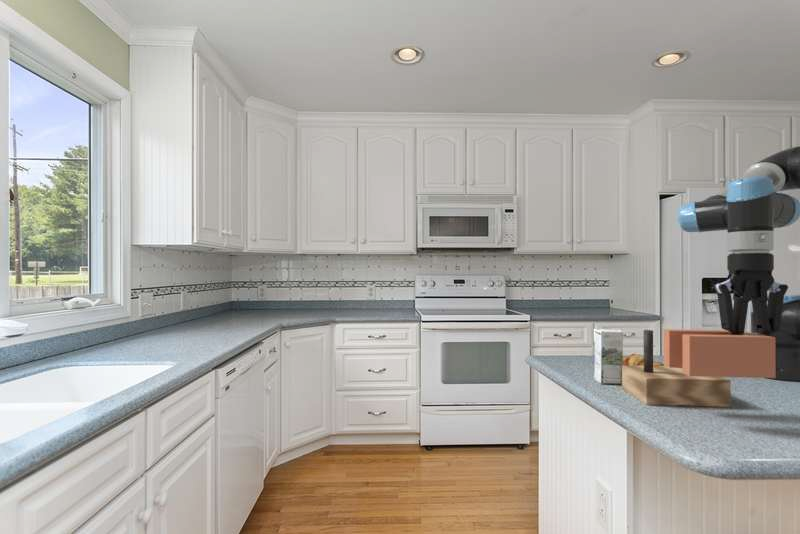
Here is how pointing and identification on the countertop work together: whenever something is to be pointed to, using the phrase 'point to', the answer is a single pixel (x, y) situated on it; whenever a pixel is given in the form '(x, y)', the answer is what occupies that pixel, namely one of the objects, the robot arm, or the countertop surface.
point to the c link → (719, 353)
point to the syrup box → (608, 355)
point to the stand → (672, 383)
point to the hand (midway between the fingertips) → (750, 364)
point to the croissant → (637, 361)
